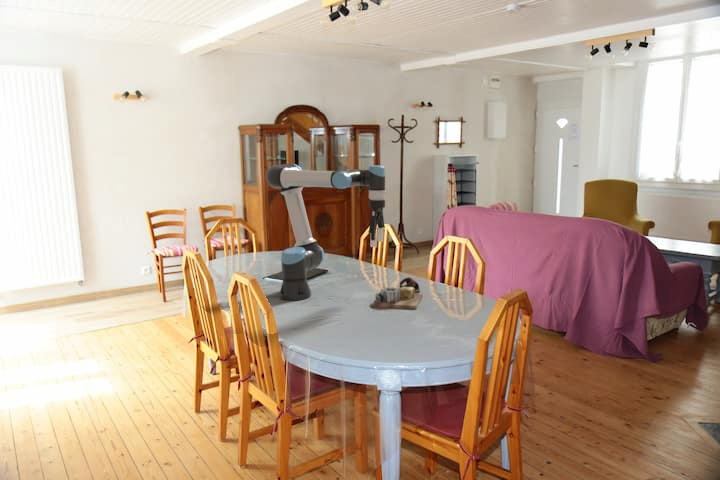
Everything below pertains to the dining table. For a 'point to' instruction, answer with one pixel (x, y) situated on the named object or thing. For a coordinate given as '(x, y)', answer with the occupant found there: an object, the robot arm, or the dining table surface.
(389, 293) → the planet gear
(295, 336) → the dining table surface
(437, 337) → the dining table surface
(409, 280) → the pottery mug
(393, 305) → the carrier plate
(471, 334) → the dining table surface
